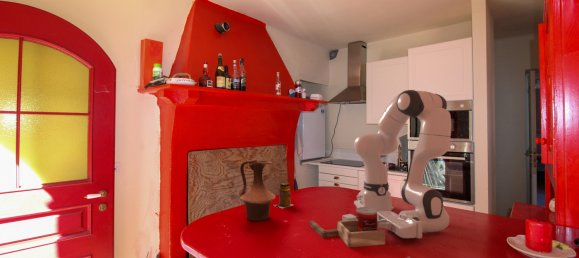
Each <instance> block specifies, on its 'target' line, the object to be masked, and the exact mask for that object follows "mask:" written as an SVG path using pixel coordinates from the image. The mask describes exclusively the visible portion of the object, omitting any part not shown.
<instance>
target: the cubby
mask: <svg viewBox="0 0 579 258" xmlns="http://www.w3.org/2000/svg"><path fill="white" fill-rule="evenodd" d="M336 229H337V230H338V231H339V235H338V237H339V238H340V239H341V240H342V241H343V242H344V243H345V244H346V246H347V247H348V248H358V247H369V246H370V247H371V246H379V245H380V246H381V245H386V230H385V229H377V230H374V231H362V232H357V222H356V220H347V221H342V220H337V221H336Z"/></svg>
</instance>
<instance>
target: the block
mask: <svg viewBox="0 0 579 258" xmlns="http://www.w3.org/2000/svg"><path fill="white" fill-rule="evenodd" d="M341 216H342V218H341V219H342V220H341V221H347V220H356V215H354V214H353V213H349V214H343V215H341Z"/></svg>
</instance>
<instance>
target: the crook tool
mask: <svg viewBox="0 0 579 258" xmlns="http://www.w3.org/2000/svg"><path fill="white" fill-rule="evenodd" d="M308 222H309V223H308V225H310V226H311V227H310V226H309V227H310V228H312V229H313V230H314V232H316V233H317V234H318V235H319V236H320V238H322V239H323V238H331V237H337V236H338V237H339V231H338V230H337V228H333V229H324V228H323V227H321V226H320V224H318V223H317V222H315V220H309V221H308Z"/></svg>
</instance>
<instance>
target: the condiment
mask: <svg viewBox="0 0 579 258" xmlns="http://www.w3.org/2000/svg"><path fill="white" fill-rule="evenodd" d="M278 191H279V192H278V197H279V201H278V202H279V203H277V204H273V206H274V207H276V206H278V207H279V208H281V209H285V208H290V207H292V206H294V204H291V188H290V183H289V182H288V183H287V182H281V183H280V184H279V190H278ZM279 205H280V206H279ZM278 207H277V208H278Z"/></svg>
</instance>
